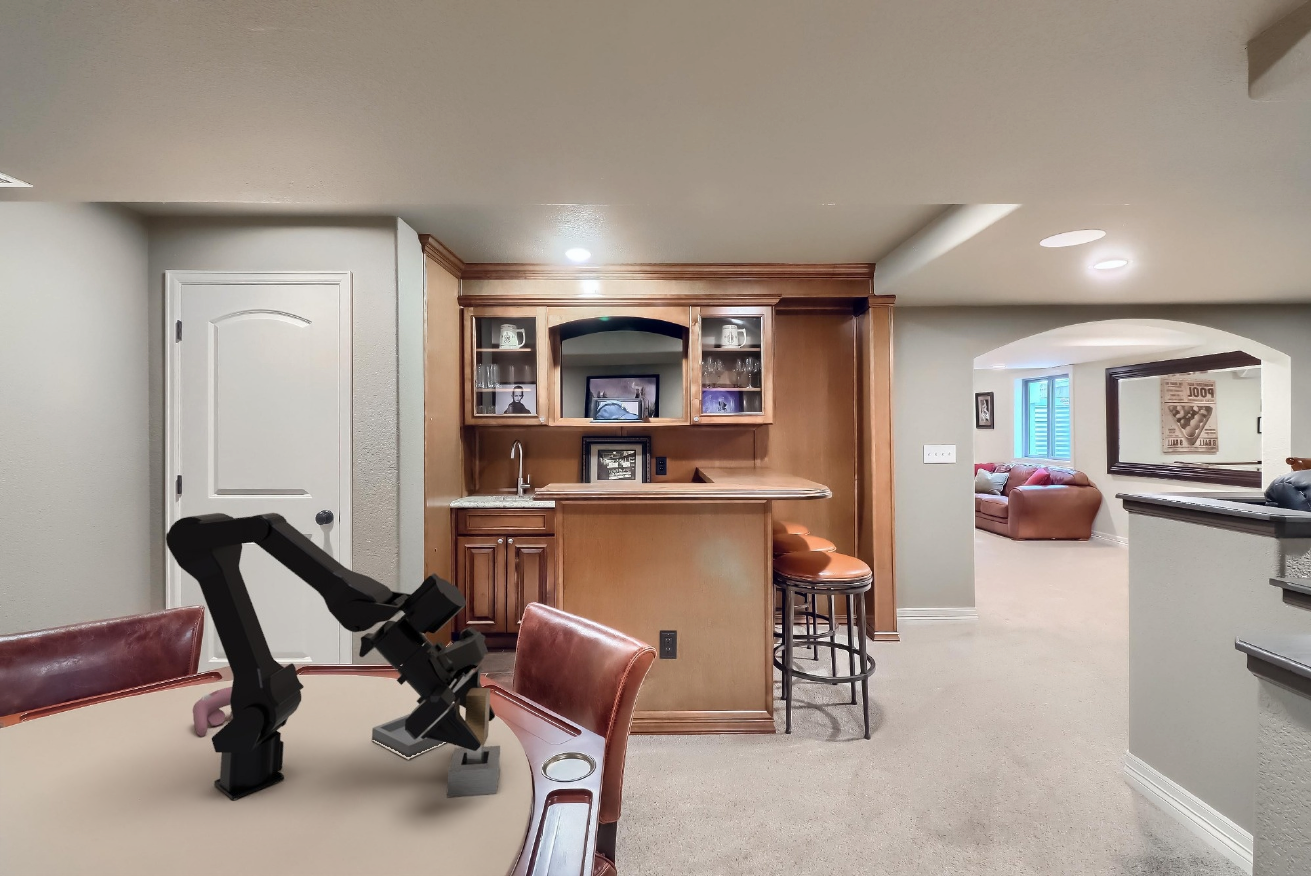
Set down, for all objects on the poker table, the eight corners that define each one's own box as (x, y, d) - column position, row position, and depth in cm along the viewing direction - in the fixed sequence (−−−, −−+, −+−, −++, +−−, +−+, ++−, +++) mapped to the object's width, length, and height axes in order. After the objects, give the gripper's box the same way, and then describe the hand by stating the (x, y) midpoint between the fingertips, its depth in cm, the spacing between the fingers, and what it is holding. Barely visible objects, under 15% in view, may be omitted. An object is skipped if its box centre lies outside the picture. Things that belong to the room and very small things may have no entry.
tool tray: (408, 760, 90) (409, 745, 90) (371, 741, 96) (372, 727, 96) (461, 736, 99) (462, 723, 99) (425, 720, 104) (425, 707, 104)
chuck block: (496, 793, 82) (497, 768, 82) (447, 797, 81) (448, 771, 81) (499, 768, 89) (500, 745, 89) (453, 772, 87) (454, 748, 88)
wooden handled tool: (481, 787, 84) (486, 695, 84) (461, 787, 83) (466, 695, 84) (486, 777, 86) (490, 688, 87) (467, 777, 86) (471, 687, 87)
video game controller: (259, 722, 105) (255, 682, 107) (268, 717, 102) (263, 676, 104) (190, 741, 97) (188, 698, 99) (198, 736, 95) (195, 692, 97)
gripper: (434, 635, 76) (516, 721, 76) (470, 600, 95) (536, 670, 95) (369, 695, 75) (452, 783, 76) (418, 649, 94) (485, 719, 94)
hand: (486, 732), depth 85 cm, fingers open, 9 cm apart
